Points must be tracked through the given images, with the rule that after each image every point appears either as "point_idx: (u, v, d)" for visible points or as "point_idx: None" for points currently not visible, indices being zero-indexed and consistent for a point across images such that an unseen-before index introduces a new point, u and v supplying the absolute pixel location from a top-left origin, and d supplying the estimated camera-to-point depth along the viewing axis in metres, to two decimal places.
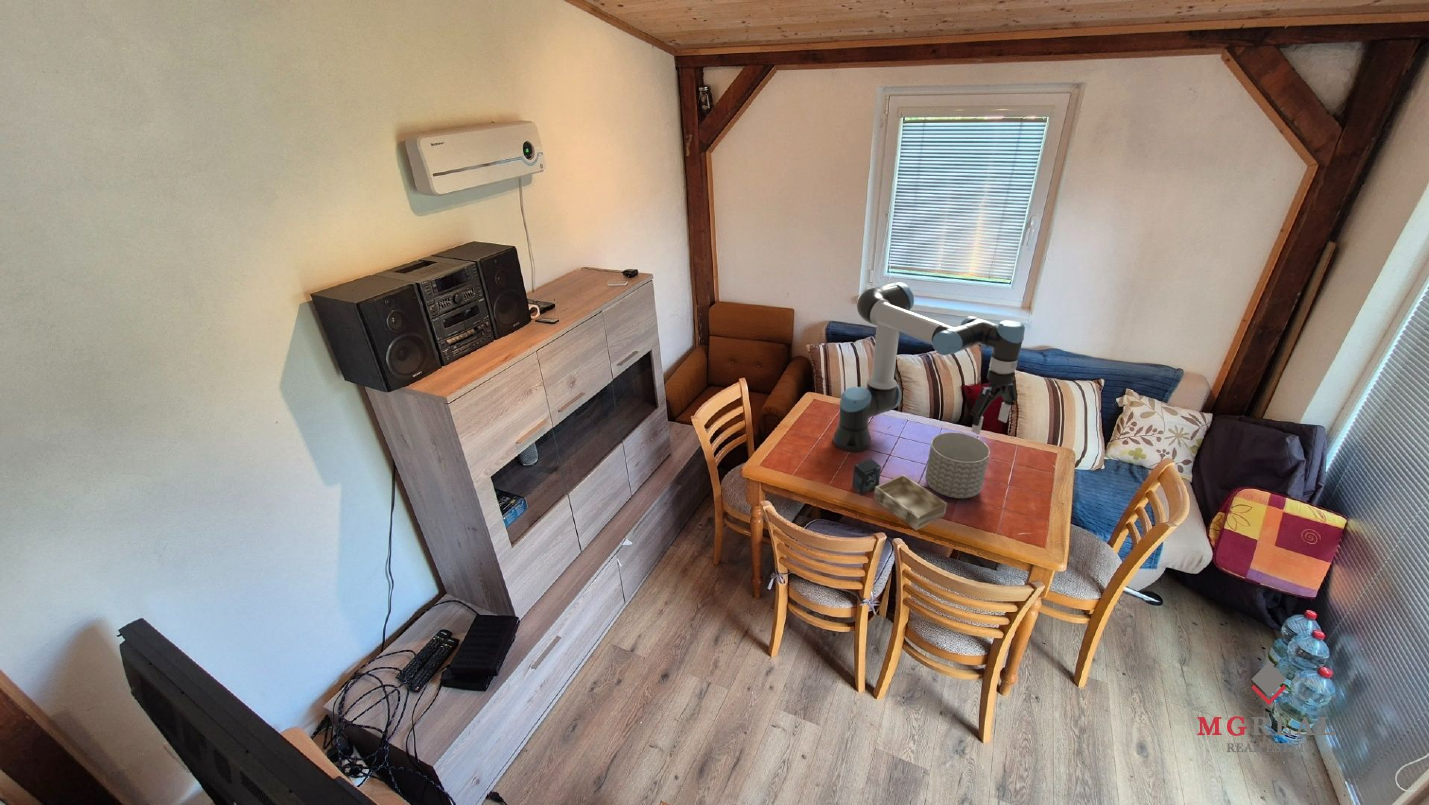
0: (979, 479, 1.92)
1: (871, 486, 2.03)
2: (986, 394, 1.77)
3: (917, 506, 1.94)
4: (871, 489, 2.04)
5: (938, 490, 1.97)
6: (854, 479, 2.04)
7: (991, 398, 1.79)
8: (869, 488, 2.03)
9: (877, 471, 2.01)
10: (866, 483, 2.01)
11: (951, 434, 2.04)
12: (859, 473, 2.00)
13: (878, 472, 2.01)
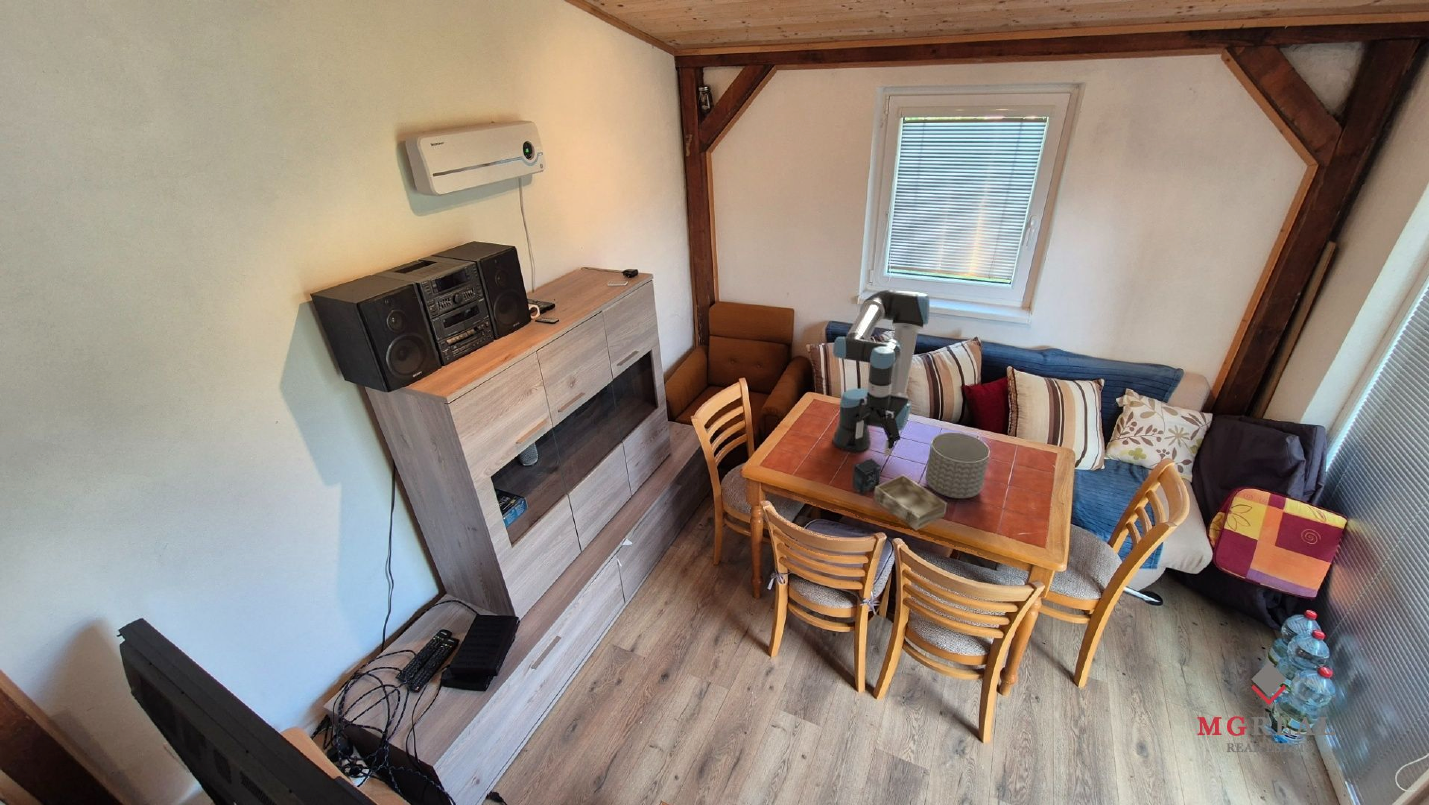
0: (979, 479, 1.92)
1: (871, 486, 2.03)
2: None
3: (917, 506, 1.94)
4: (871, 489, 2.04)
5: (938, 490, 1.97)
6: (854, 479, 2.04)
7: (865, 411, 1.94)
8: (869, 488, 2.03)
9: (877, 471, 2.01)
10: (866, 483, 2.01)
11: (951, 434, 2.04)
12: (860, 473, 2.00)
13: (878, 472, 2.01)
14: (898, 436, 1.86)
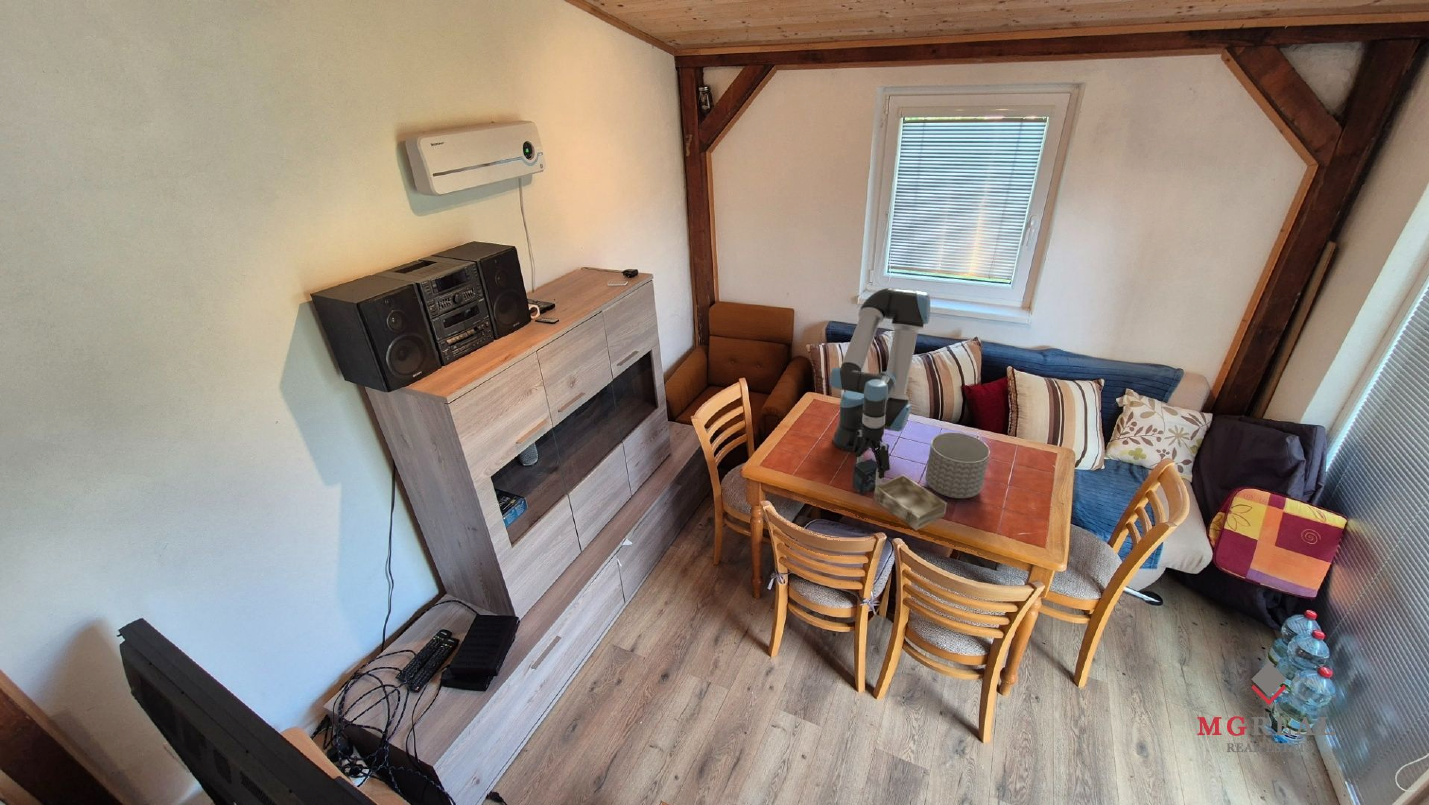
0: (979, 479, 1.92)
1: (871, 486, 2.03)
2: None
3: (917, 506, 1.94)
4: (871, 489, 2.04)
5: (938, 490, 1.97)
6: (854, 479, 2.04)
7: None
8: (869, 488, 2.03)
9: None
10: (866, 483, 2.01)
11: (951, 434, 2.04)
12: (859, 473, 2.00)
13: None
14: (888, 467, 1.93)
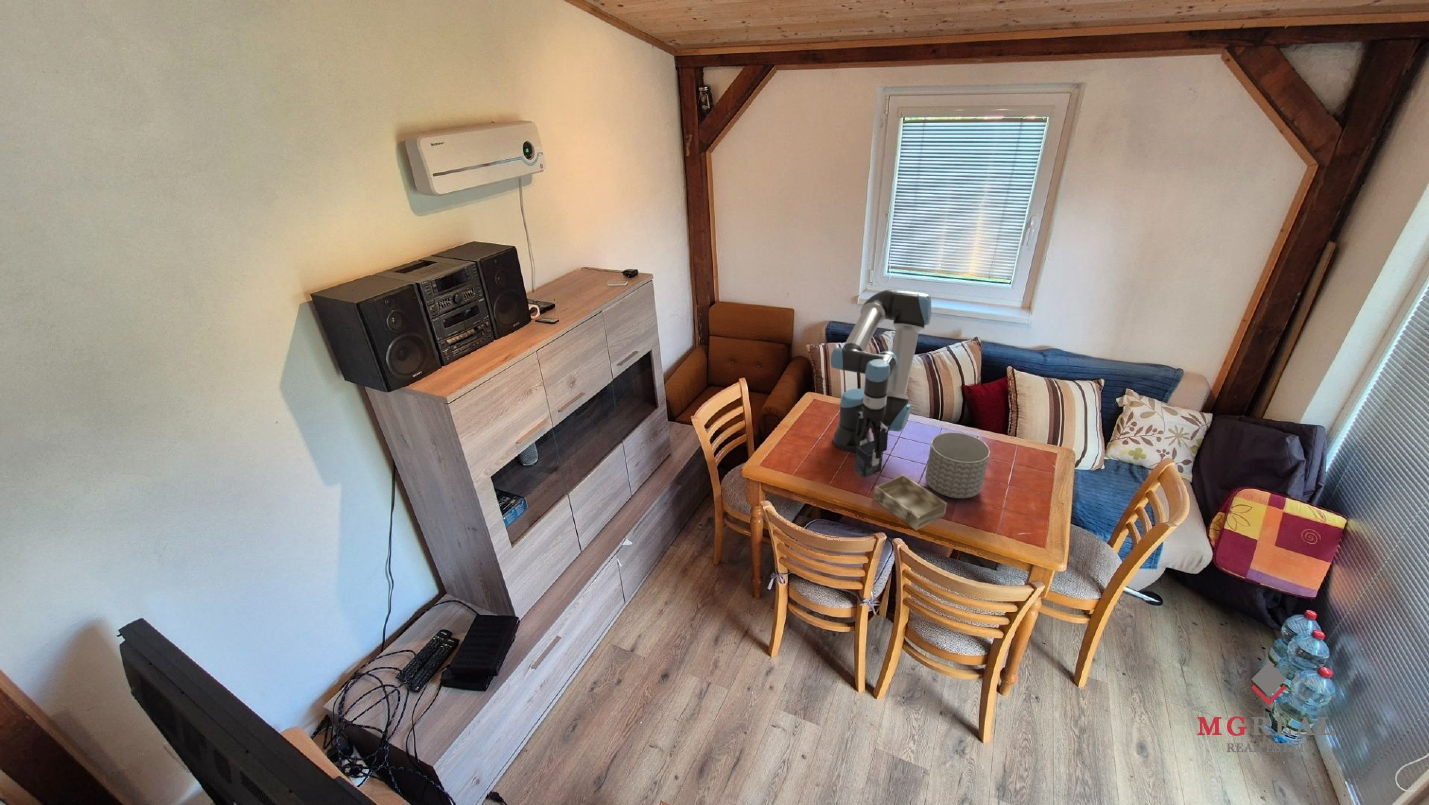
0: (979, 479, 1.92)
1: (874, 468, 2.00)
2: None
3: (917, 506, 1.94)
4: (874, 471, 2.01)
5: (938, 490, 1.97)
6: (856, 462, 2.01)
7: None
8: (872, 471, 2.00)
9: None
10: (869, 466, 1.98)
11: (951, 434, 2.04)
12: (862, 455, 1.97)
13: (881, 454, 1.98)
14: (885, 448, 1.92)
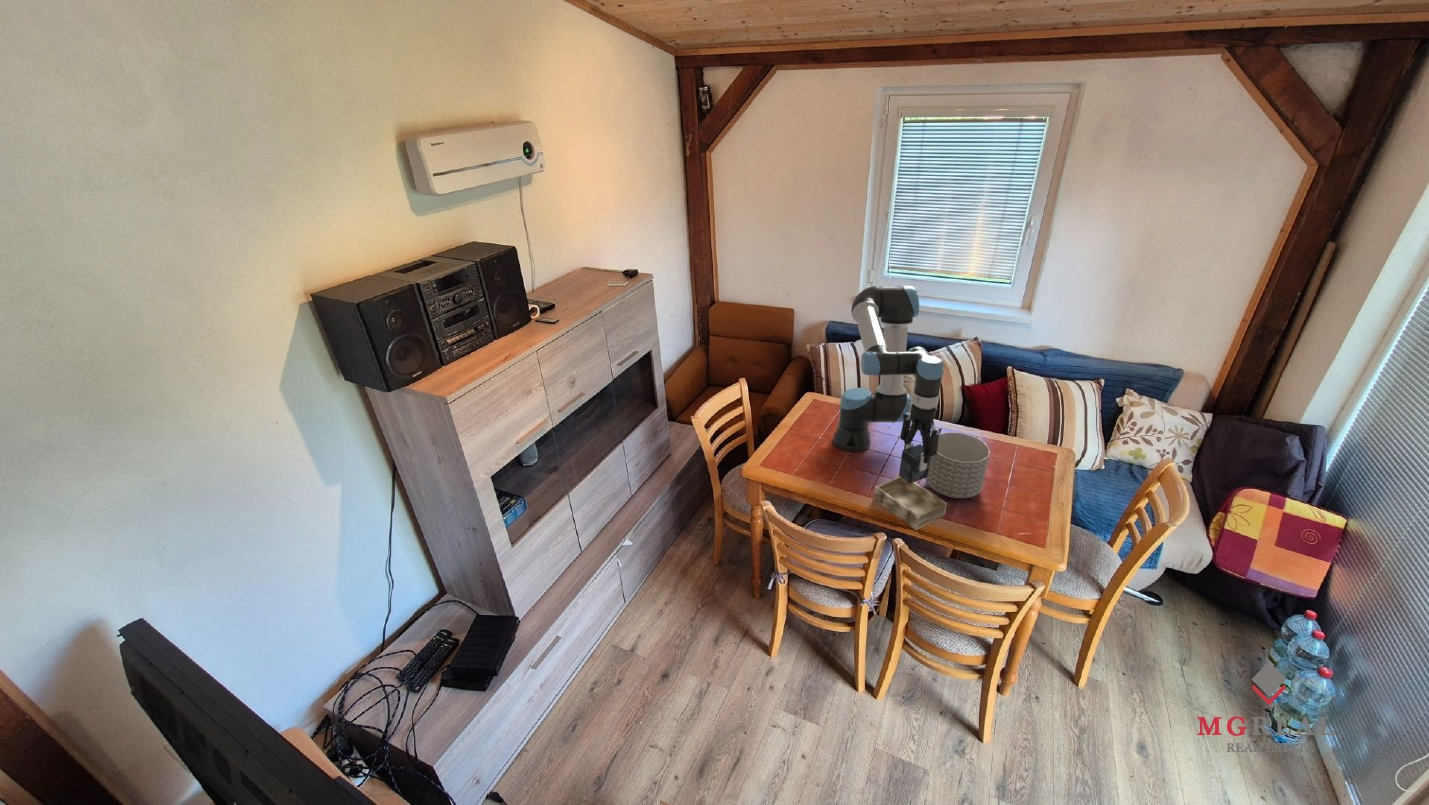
0: (979, 479, 1.92)
1: (921, 474, 1.86)
2: None
3: (917, 506, 1.94)
4: (920, 477, 1.87)
5: (938, 490, 1.97)
6: (901, 466, 1.88)
7: None
8: (918, 476, 1.86)
9: None
10: (916, 471, 1.84)
11: (951, 434, 2.04)
12: (909, 460, 1.84)
13: None
14: (935, 452, 1.79)
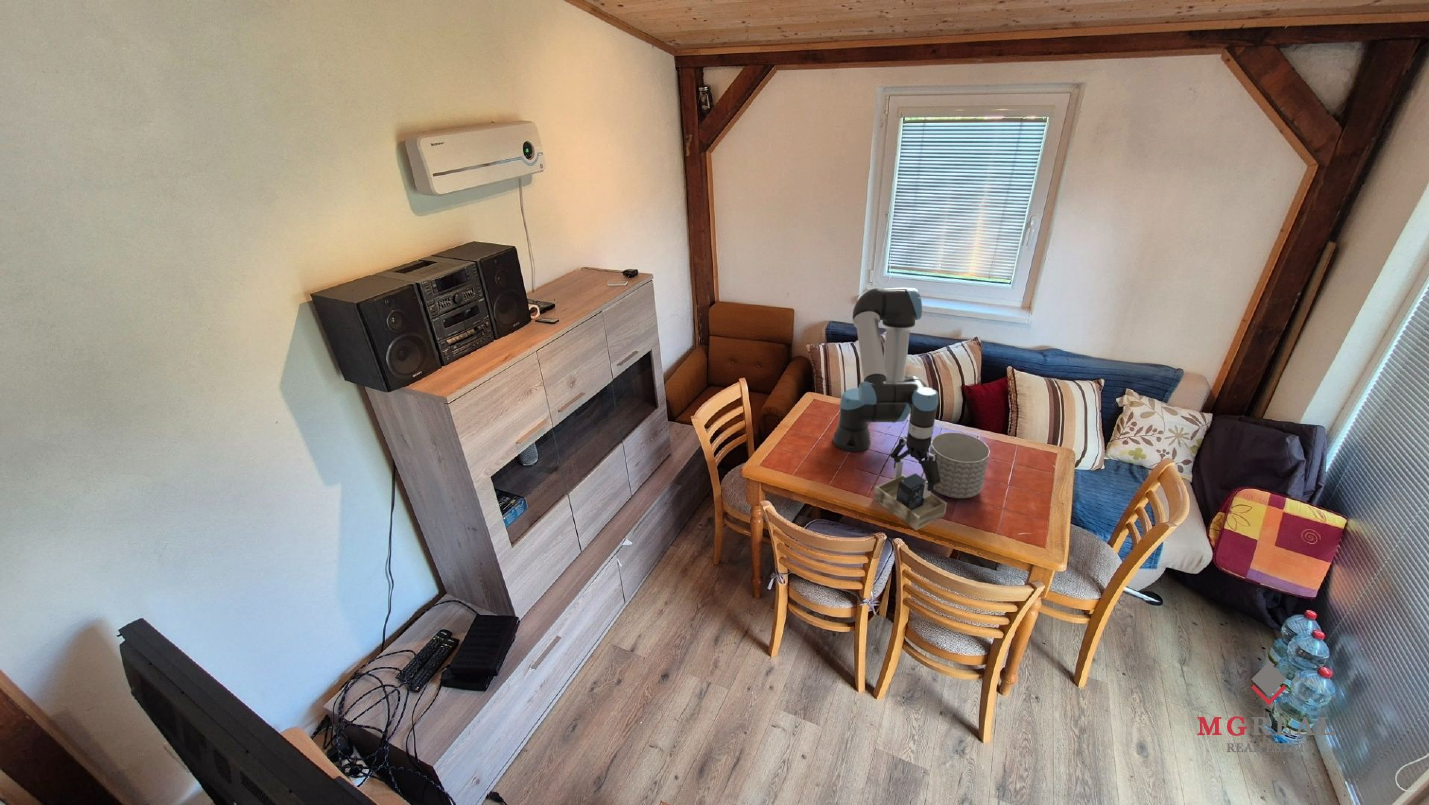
0: (979, 479, 1.92)
1: (917, 502, 1.92)
2: None
3: None
4: (916, 505, 1.93)
5: (938, 490, 1.97)
6: (898, 495, 1.93)
7: (905, 451, 1.88)
8: (915, 505, 1.92)
9: (923, 486, 1.90)
10: (912, 500, 1.90)
11: (951, 434, 2.04)
12: (905, 490, 1.89)
13: None
14: (938, 479, 1.81)
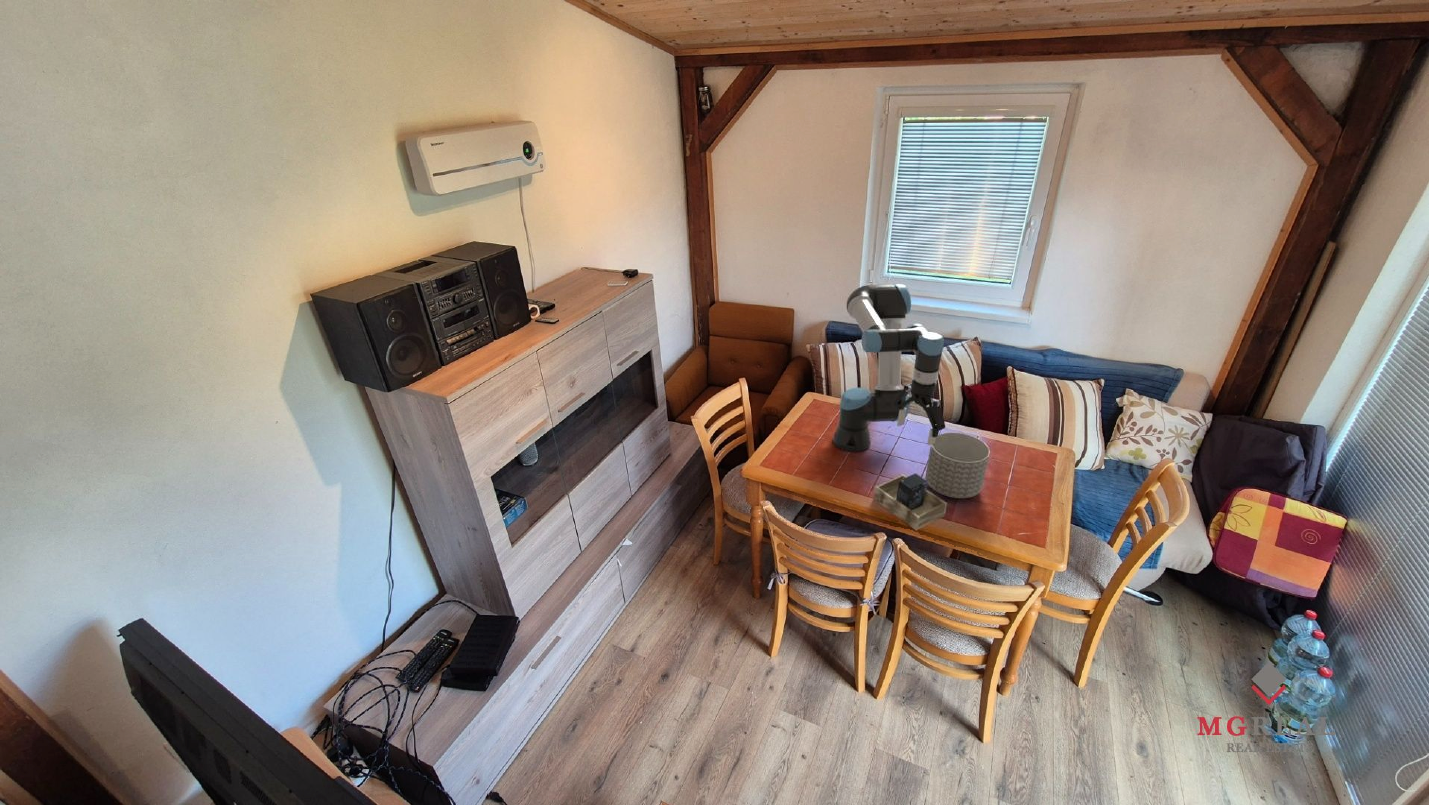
0: (979, 479, 1.92)
1: (917, 502, 1.92)
2: None
3: None
4: (916, 505, 1.93)
5: (938, 490, 1.97)
6: (898, 495, 1.93)
7: (909, 398, 1.89)
8: (915, 505, 1.92)
9: (923, 486, 1.90)
10: (912, 500, 1.90)
11: (951, 434, 2.04)
12: (905, 490, 1.89)
13: (924, 487, 1.90)
14: (943, 425, 1.81)
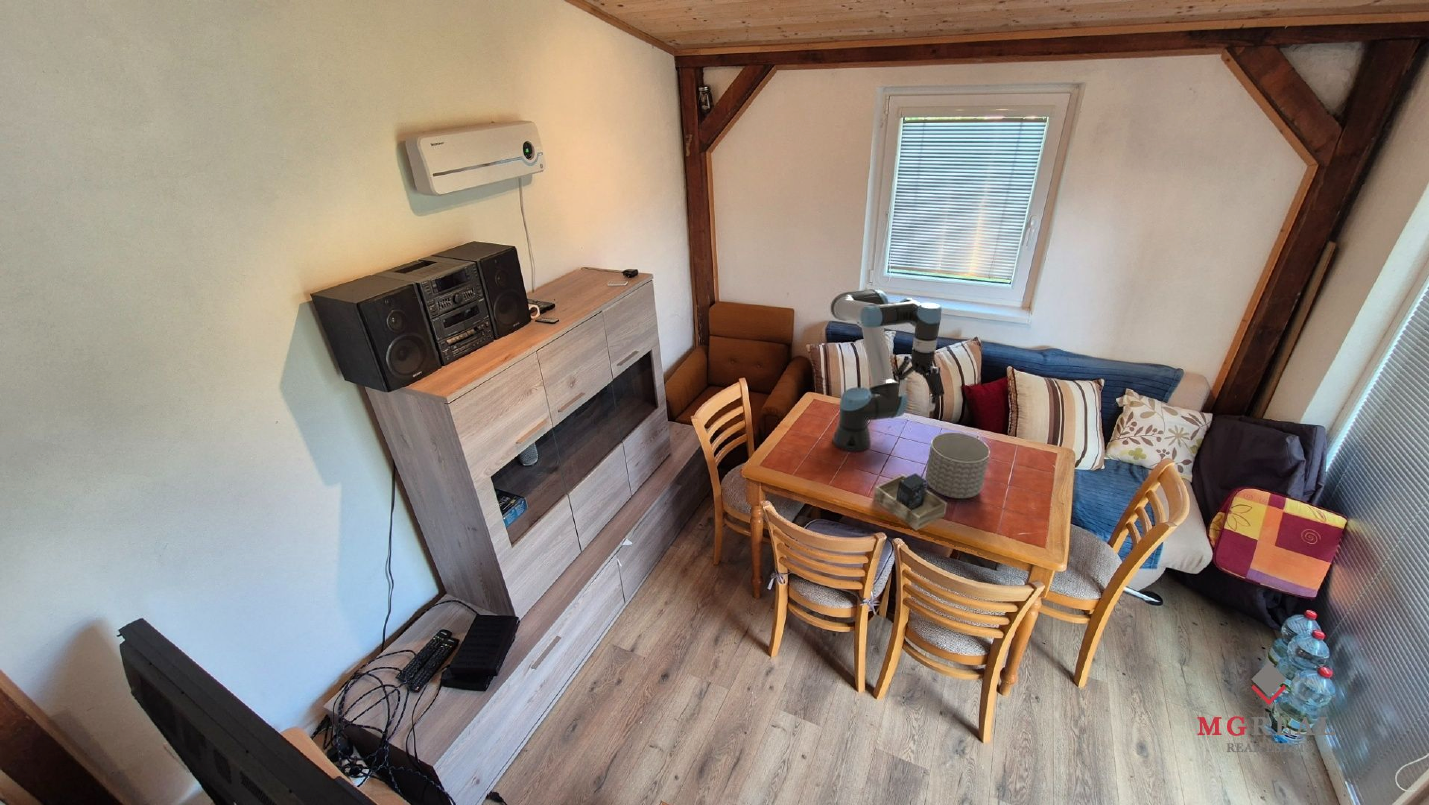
0: (979, 479, 1.92)
1: (917, 502, 1.92)
2: None
3: None
4: (916, 505, 1.93)
5: (938, 490, 1.97)
6: (898, 495, 1.93)
7: (909, 368, 1.99)
8: (915, 505, 1.92)
9: (923, 486, 1.90)
10: (912, 500, 1.90)
11: (951, 434, 2.04)
12: (905, 490, 1.89)
13: (924, 487, 1.90)
14: (942, 391, 1.91)
